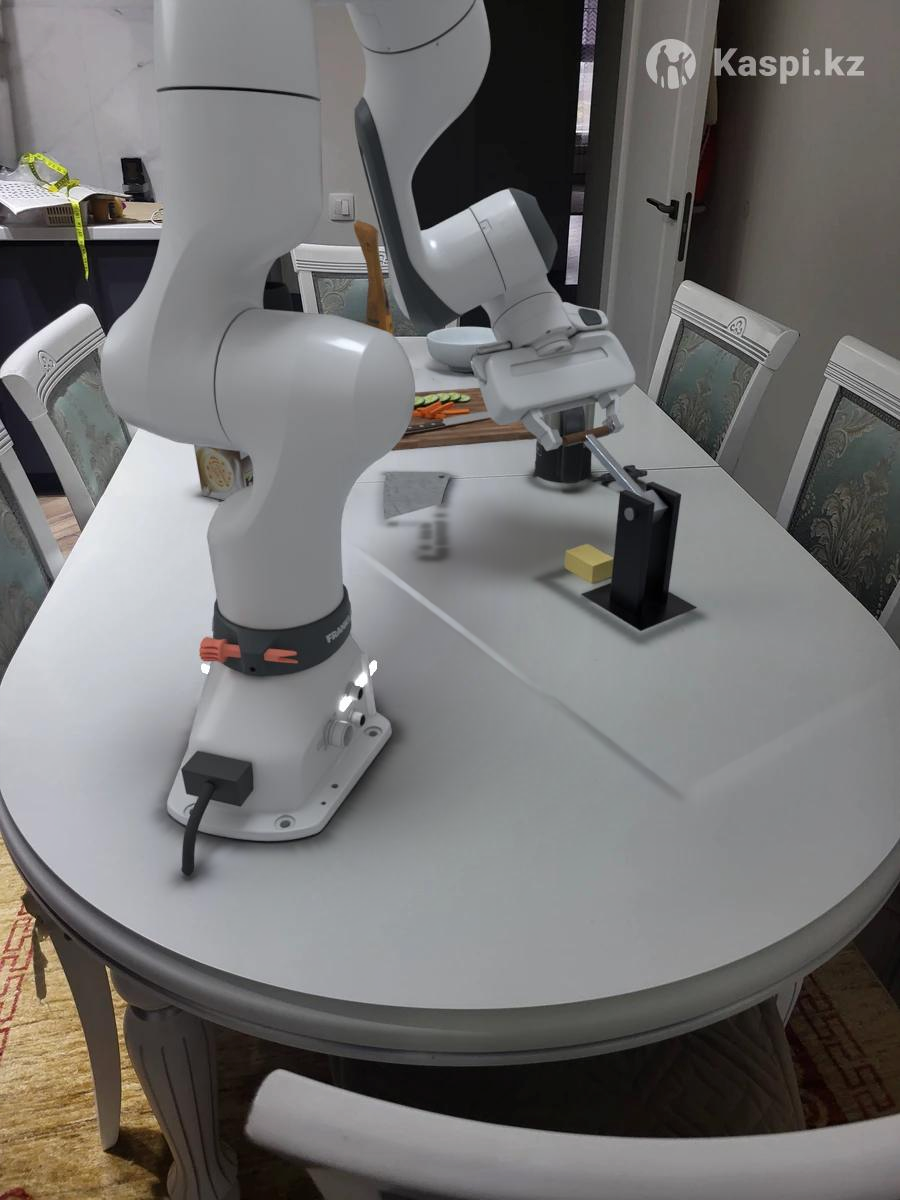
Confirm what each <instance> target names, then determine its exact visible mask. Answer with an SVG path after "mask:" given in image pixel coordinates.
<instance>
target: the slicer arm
mask: <svg viewBox="0 0 900 1200" xmlns="http://www.w3.org/2000/svg"><path fill="white" fill-rule="evenodd" d="M609 435H611V434H610V428H609V427H608V426H603V425H602V426H598V427H594V428H593V429H590V430H586V431H582V432H578V433H574V434H571V435H567V436H563V437H562V440H563V443H562V445H563V446H565V447H566V446H570V445H574V444H578V443H582V442H583V443H584V444H585V445H586V446H587V447H588V448H589V450H590V451H591V452H592V455H594V457H595V458H596V459H597V461H599V463H600V464H601V465H602V466H603V468H605V469H606V471H607V472H608V473H610V474H611V475H612V476H613V477H614V478H615V480H614V481H616V482H617V483H618V485H620V486H621V488H622V489H623V490H628V491H630V492H632V493H635V494H637V495H639V496H641V497H643V498H645V499H648V500H650V501H652V502H654V503H655V506H654V514H653V523H656V522H659V521H660V519H661V518H662V516H663V514H664V513H665V511H666V509H667V508H668V506H667V505H666V504H665V503H664V502H663V501H662V500H661V498H660V497H659V496H658V495H657V494H656V493H655V492H654V491H653V490H649V491H646V490H645V491H646V492H645V491H644V490H643V489H642V488H641V487H640V486H639V485H638V483H636V481H634V480H633V479H632V478H631V477H630V476H629V475H628V474H627V473H626V471H625V470H624V469H623V467H622V466H621V464H620V463H619V462H618V461H617V460H616V459H615V458H614V456H612V454H611V453H610V452H609V451H608V450H607V448H606V447H605V446H604V445H603V444H602V443H601V442H600V441H599V440H598V439H600V438H604V437H608V436H609ZM653 523H652V524H653Z"/></svg>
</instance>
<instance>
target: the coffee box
mask: <svg viewBox="0 0 900 1200" xmlns="http://www.w3.org/2000/svg"><path fill="white" fill-rule="evenodd" d="M193 449H194V453H195V454H194V455H195V461H196V467H197V472H198V477H199V484H200V490H201V495H202V496H204V497H210V498H213V499H217V500H221V501H225V500H226V499H227V498H228V497H230V496H231V495H233V494H234V493H236V492H238V491H240V490H242V489H244V488H246V487H248V486H250V485H253V465H252V461H251V458H250V456H249V454H248V453H244V452H242V451H235V450H228V449H220V448H213V447H206V446H199V445H193Z"/></svg>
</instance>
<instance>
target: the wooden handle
mask: <svg viewBox="0 0 900 1200" xmlns="http://www.w3.org/2000/svg"><path fill="white" fill-rule="evenodd" d="M353 230H354V234H355V236H356V239H357V240H358V243H359V246H360V249H361V251H362V255H363V258H364V260H365V264H366V270H367V280H368V281H367V283H368V286H367V287H368V288H367V295H366V313H365V315H366V316H365V317H366V318H365V324H366V325H369V326H372V327H375V328H378V329H381V330H384V331H387V332H389V333H391V334H392V335H393V336H394V337H395V331H394V325H393V319H392V313H391V307H390V301H389V296H388V292H387V287H386V282H385V278H384V274H383V269H382V264H381V258H380V247H379V246H380V245H379V232H380V231H379V230H378V229H377V227H375V226H374V225H373V224H371V223H368V222H365V221H364V222H363V221H362V220H360V219H356V221H355V222H354V223H353Z"/></svg>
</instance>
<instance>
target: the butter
mask: <svg viewBox="0 0 900 1200" xmlns="http://www.w3.org/2000/svg"><path fill="white" fill-rule="evenodd" d="M613 559H614V557H613V556H611V555H609V554H607V553H605V552H603V551H601V550H599V549H598V548H597V547H595V546H592V545H591V544H589V543H585V544H581V545H579V546H576V547H573V548H569V549H566V550H565V558H564V569H565V570H567V571H569V572H571V573H573V574H574V575H576V576H577V577H579V578H580V579H582V580H584V581H586V582H587V583H589V584H591V585H592V584H595V583H598V582H601V581H604V580H607V579H608V578H612V569H613Z"/></svg>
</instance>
